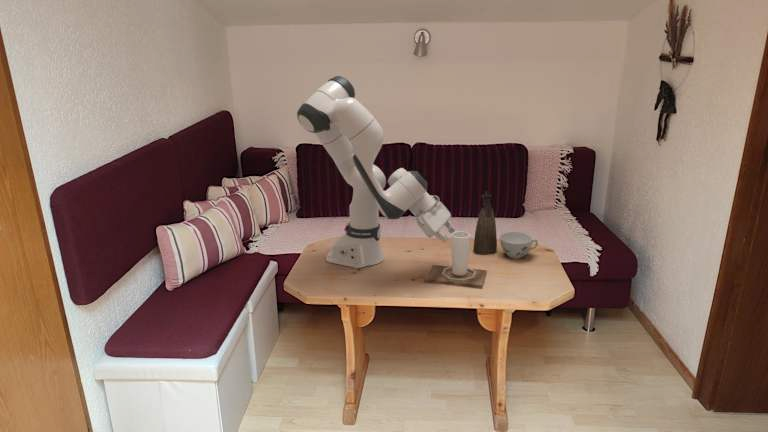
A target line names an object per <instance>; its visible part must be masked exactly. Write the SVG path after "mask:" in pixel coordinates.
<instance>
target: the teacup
mask: <svg viewBox="0 0 768 432" xmlns="http://www.w3.org/2000/svg"><path fill="white" fill-rule="evenodd" d="M499 242H500V247H501V249H502V250H503V253H505V254H506V256H507V257H508V258H510V259H517V260H519V259H521V258H523V257H524V256H526V254H527V253H529V251H532V250H534V249H536V248H537V247H538V246H539V245H538V244H539V240H538V239H536V238H534V237H533V236H532V235H530V234H529V233H525V232H523V231H522V232H521V231H506V232H504V233H501V234H500V235H499ZM533 243H535V245H534V246H532V245H533Z"/></svg>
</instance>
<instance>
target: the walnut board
mask: <svg viewBox="0 0 768 432" xmlns="http://www.w3.org/2000/svg"><path fill="white" fill-rule="evenodd" d="M486 275H487V269H478V268H470V267H469V266H467V274H466V275H464V276H457V275H454V274H453V273H452V265H451V266H450V265H440V264H439V265H438V264H432V265H431V266H430V269H429V271H428V273H427V274H426V276H425V278H424V283H429V284H437V285H448V286H456V287H464V288H473V289H474V288H475V289H483V286H484V283H485V279H486Z"/></svg>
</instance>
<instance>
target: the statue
mask: <svg viewBox="0 0 768 432" xmlns="http://www.w3.org/2000/svg"><path fill="white" fill-rule="evenodd" d="M480 197H481V200H482V201H483V202H482V205H483V207H481V208H480V212H479V215H478V218H477V221H476V222H477V223H476V227H475V232H474V238H473V239H474V240H473V254H475V255H491V254H492V255H493V254H495V253H497V251H498V250H497V248H498V246H497V244H498V241H497V225H496V217H495V213H494V209H493V207H492V204H491V201H490V200H491V199H492V195H491V194H488V191H487V190H485V192H484V194H482V195H480Z"/></svg>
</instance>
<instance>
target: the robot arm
mask: <svg viewBox="0 0 768 432" xmlns="http://www.w3.org/2000/svg"><path fill="white" fill-rule="evenodd" d="M355 97H356V92H355V87H354V85H353V84H352V83H351V82H350V80H348V79H347V78H346V77H344V76H341V75H336V76H334V77H332V78H329V79H328V80H327V82H325V83H324V84H323V85H321V86H320V87H319V88H317V89H316V90H315V91H314V92H313V94H311V96H309V97H308V99H307V100H306V101H305V102H304V103H302V104H301V106H300V107H299V108H298V110H297V112H296V115H297V116H296V117H297V120H298V122H299V124H300V125H301V126H302V127H303V129H305V130H306V131H307V132H309V133H312V134H315V136H316V138H317V139H318V141H319V143H320V144H321V145H322V146H323V148H324V149H325V150H326V152H327V153H328V155H329V156H330V157H331V158H332V160H333V162H334V164H335V166H336V167H337V169H338V171H339V173H340V174H341V176H342V178H343V179H344V181H345V182H346V183H347V184H348V185H349V186H351V187H352V189H353V190H352V191H353V192H352V200H351V203H350V204H349V205H348V207H349V221H348V222H347V225H345V227H344V228H343V231H344V232H345V233H344V234H342V235H341V236H339V237H338V238H337V239H336V240H335V241H334V242H333V244H332V247H331V251H329V252H328V253H327V254H326V256H325V261H326V263H331V264H335V265H340V266H341V265H342V266H345V267H349V268H355V269H361V268H365V267H367V266H368V267H370V266H374V265H376V264H377V265H378V264H380V263H381V262H383V261H384V259H385V257H384V254H383V250H382V246H381V240H380V239H381V224H380V223H379V222H380V217H379V215H380V214H379V213H381V214H382V216H384V217H385V218H387V219H388V220H399V219H400V218H401V217H402V216H404V214H405V213H406V211H407V210H409V211H410V212H411V213H412V215H413V216H414V217H415V218H416V223H417V225H418V227H419V228H420V229H421V231H422V232H423V234H425V236H426V237H428V238H430V239H431V238H432V237H433V236H434V237H435V238H437V239H439V240H440V241H441V242H442V243H444V244H445V243H447V241H448V240H449V238H448V237H447V236H446V235H444V234H443V233H442V231H441V228H442V227H446V228H447V231H448V232H449V233H450V234H452V233H453V232H456V228H455V227H454V226H453V224H452V222H451V221H450V219H451V218H452V214H451V212H450V211H449V209H448V208H447V207H446V206H445V205H444V203H442V201H440V197H439V196H437V195H430V194H429V193H428V192H427V191H428V181H427V180H426V179H425V178H424V177H423V176H422V175H421V174H420V172H419V171H417V170H409V171H407V170H406V169H405V168H404V167H400V168H398V169H396V170H394V171H393V172H392V173H391V175H389V177H388V179H386V178H387V177H386V176H385V173H384V172H383V171H382V169H380V168H379V166H377V165H376V164H374V162H375V160H376V158H377V156H378V154H379V153H380V150H381V149H382V146H383V143H384V138H385V137H384V136H385V135H384V129H383V128H382V126H381V125H380V123H379V121H378V120H377V119H376V118H375V117H374V115H373V114H372V113H371V112H370V111H369V110H368V109H367V108H366V107H365V106H364V105H363V104H362V103H361V102H360V101H358V100H357V99H356V98H355ZM386 184H388V185H389V187H388V188H387V189H386V190H384V189H385V187H386Z"/></svg>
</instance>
